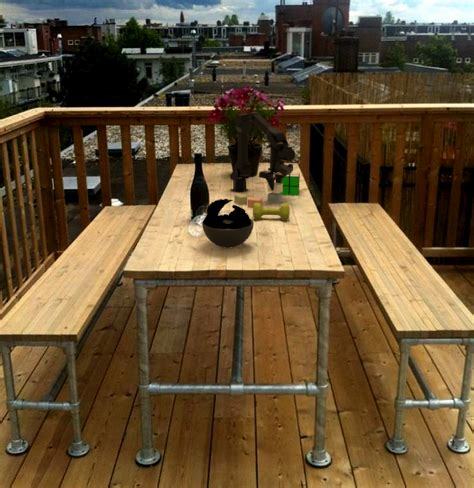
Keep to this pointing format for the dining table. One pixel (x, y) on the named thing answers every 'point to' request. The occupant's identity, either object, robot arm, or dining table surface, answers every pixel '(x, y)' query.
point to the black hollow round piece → (227, 225)
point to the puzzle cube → (291, 184)
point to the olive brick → (240, 199)
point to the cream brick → (276, 188)
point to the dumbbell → (271, 211)
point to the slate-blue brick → (274, 197)
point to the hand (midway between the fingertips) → (275, 189)
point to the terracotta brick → (254, 200)
